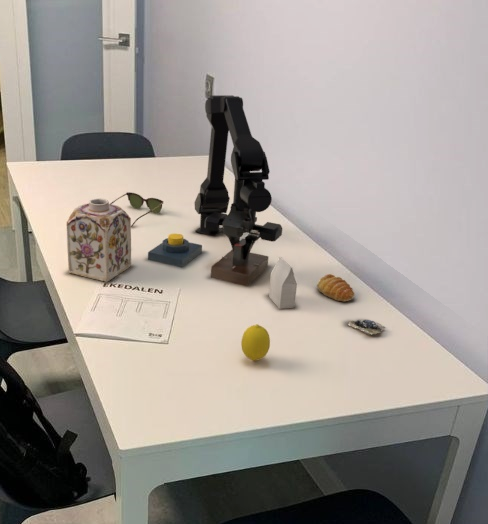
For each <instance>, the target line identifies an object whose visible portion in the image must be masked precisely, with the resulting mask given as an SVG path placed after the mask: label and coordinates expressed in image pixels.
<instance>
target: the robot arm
mask: <svg viewBox="0 0 488 524" xmlns="http://www.w3.org/2000/svg"><path fill="white" fill-rule="evenodd" d="M204 110H205V115H206V119H207V121H208V123H209V125H210V137H209V139H210V140H209V150H208V161H207V173H206V178H205V179H204V180H203V181H202V183H201V184H200V185H199V192H198V194H197V196H196V198H195V200H194V210H195V212H196V213H197V214H198V215H200V217H199V218H200V219H199V220H200V221H199V227H198V228H197V229H195V230H194V231H195V232H194V233H197V234H202V235H206V236H211V237H216V236H218V235H219V234H220V233H221V234H222V235H224V236H225V237H226V238H228V240H229V243H230V246H231V250H232V249H234V245H235V244H237V243H238V242H239V241H240V240H241V238H242V237H243V235H244V234H247V235H246V236H245V237H244V239H245V240H246V244H245V250H244V260H246V259H247V257H248V255H249V253H251V251H252V249H253V247H254V245H255V243H256V241H258V240H259V239H261V240H263V241H268V242H276V241H277V240H278V239H279V238H280V237H282V235H283V226H282V225H281V224H280V223H276V222H271V221H267V222H265V223H264V224H263V225H262V224H256V222H257V221H258V217H257V213H261V212H264V211H266V210H267V209H269V207H270V206H271V204H272V200H273V199H272V194H271V192H270V191H269V190H268V188H266V186H265V185H266V183H265V182H264V181H266V180H267V181H268V180H269V179H270V177H269V175H270V173H271V172H270V167H269V161H268V157H267V155H266V152H265V151H264V149H263V146H262V145H261V142H260V141H259V140H257V139H256V138H254V136H253V135H252V132H251V128H250V126H249V122H248V119H247V117H246V113H245V110H244V99H243V97H240V96H238V95H237V96H235V95H228V94H227V95H226V94H225V95H224V94H223V95H222V94H221V95H219V94H218V95H216V94H215V95H213V94H212V95H209V97H208V98H207V99H206V100H205V104H204ZM229 134H230V137H231V142H232V146H233V148H232V150H231V155H230V163H231V168H232V172H233V176H234V186H233V187H234V188H233V198H232V199H233V201H232V203H231V205H230V210H229V212H228V208H229V203H230V200H231V198H230V196H229V190H228V189H227V186H226V185H225V182H224V178H225V168H226V160H227V159H226V158H227V149H228V140H229ZM227 213H228V214H227ZM220 226H222V227H220Z"/></svg>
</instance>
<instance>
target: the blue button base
mask: <svg viewBox="0 0 488 524" xmlns="http://www.w3.org/2000/svg"><path fill="white" fill-rule="evenodd" d="M202 252H203V245H202V244H199V243H194V242H189V240H187V239H186V238H183V244H182V245H170V244H168V237H167V238H165V239H164V238H163V240H162V242H161V243H160V244H158V245H156V246H155V247H154V248H151V250H149V251H148V252H147V260H148V261H152V262H157V263H161V264H164V265H168V266H169V265H170V266H174V267H179V268H183V267H185V266H186V265H187V264H189V263H190V262H191V261H193V260H194V259H195V258H196V257H198V256H199V255H200V254H202Z"/></svg>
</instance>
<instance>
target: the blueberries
mask: <svg viewBox="0 0 488 524" xmlns="http://www.w3.org/2000/svg"><path fill="white" fill-rule="evenodd" d="M347 325H348V326H349V327H352V328H353V329H358V330H360V331H362V332H363V333H364V334H366V335H378V334H382V333H383V331H384V329H385V328H386V326H384V325H383V324H381V323H379V322H377V321H374V320H371V319H363V320H362V319H361V320H360V319H358V320H357V319H356V320H350V321H348V323H347ZM386 329H387V328H386Z"/></svg>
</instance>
